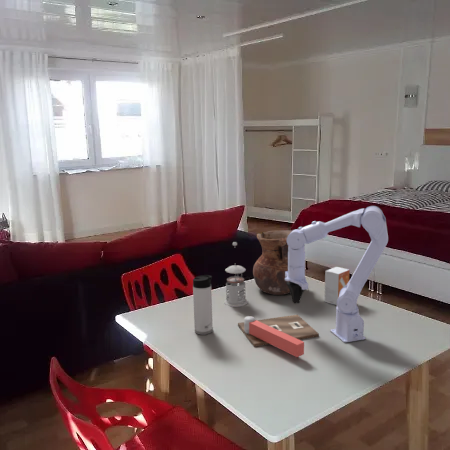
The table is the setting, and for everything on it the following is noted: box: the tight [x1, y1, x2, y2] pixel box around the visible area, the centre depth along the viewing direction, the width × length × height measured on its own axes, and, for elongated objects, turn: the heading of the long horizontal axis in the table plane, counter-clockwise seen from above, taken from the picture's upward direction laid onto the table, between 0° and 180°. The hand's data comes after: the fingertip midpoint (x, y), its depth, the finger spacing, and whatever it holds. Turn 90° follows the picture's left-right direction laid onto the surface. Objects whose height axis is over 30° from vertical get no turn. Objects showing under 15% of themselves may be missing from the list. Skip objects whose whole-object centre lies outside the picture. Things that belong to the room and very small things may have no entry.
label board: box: [237, 314, 320, 348], centre depth 158 cm, size 17×23×1 cm
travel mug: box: [192, 274, 214, 336], centre depth 157 cm, size 6×7×20 cm
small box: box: [324, 266, 351, 306], centre depth 183 cm, size 8×6×13 cm
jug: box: [252, 229, 293, 296], centre depth 196 cm, size 22×21×25 cm
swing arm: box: [243, 315, 305, 358], centre depth 147 cm, size 4×25×4 cm, turn 39°
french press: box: [223, 241, 249, 308], centre depth 184 cm, size 10×12×25 cm
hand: (296, 302), depth 158 cm, fingers closed
